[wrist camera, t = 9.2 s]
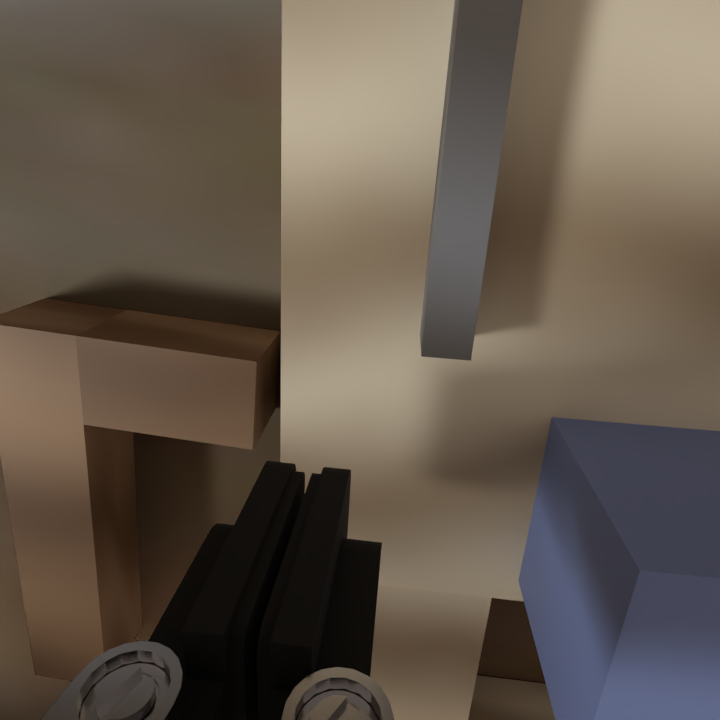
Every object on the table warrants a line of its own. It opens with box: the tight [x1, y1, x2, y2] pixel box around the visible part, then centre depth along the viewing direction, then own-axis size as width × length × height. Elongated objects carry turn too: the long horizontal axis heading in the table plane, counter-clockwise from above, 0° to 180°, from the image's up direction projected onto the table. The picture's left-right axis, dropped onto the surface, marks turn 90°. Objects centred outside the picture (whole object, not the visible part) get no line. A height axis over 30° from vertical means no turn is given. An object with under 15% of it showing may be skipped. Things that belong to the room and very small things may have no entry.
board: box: [280, 0, 720, 720], centre depth 12 cm, size 25×19×4 cm
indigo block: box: [518, 417, 720, 720], centre depth 11 cm, size 5×5×5 cm
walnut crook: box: [0, 298, 281, 681], centre depth 15 cm, size 12×7×2 cm, turn 173°
